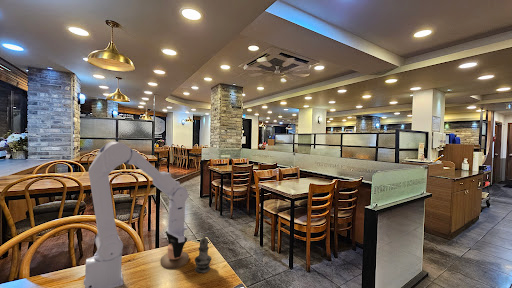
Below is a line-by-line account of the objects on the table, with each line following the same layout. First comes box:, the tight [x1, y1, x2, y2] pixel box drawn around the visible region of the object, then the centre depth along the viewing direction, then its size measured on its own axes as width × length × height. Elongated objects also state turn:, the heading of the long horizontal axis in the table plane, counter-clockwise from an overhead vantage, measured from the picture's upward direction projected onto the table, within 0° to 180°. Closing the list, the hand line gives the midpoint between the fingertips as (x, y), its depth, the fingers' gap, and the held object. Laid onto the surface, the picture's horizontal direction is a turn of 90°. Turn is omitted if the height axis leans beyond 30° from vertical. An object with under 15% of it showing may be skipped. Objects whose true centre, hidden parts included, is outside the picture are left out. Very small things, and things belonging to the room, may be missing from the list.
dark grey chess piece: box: [194, 235, 213, 274], centre depth 78 cm, size 6×6×12 cm
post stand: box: [159, 251, 190, 270], centre depth 82 cm, size 10×10×5 cm
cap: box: [166, 243, 184, 259], centre depth 82 cm, size 5×5×4 cm
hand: (175, 253), depth 82 cm, fingers closed on cap, 5 cm apart
